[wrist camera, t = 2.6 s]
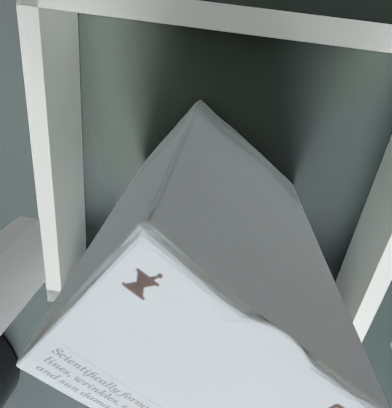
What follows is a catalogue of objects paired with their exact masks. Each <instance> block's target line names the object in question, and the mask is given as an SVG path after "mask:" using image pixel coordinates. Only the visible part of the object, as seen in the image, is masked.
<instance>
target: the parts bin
mask: <svg viewBox="0 0 392 408" xmlns="http://www.w3.org/2000/svg"><path fill="white" fill-rule="evenodd" d="M16 8H17V18H18V27H19V36H20V46H21V55H22V65H23V74H24V83H25V93H26V102H27V111H28V121H29V130H30V140H31V149H32V158H33V168H34V177H35V186H36V196H37V205H38V215H39V221H40V230H41V239H42V248H43V257H44V266H45V275H46V290H47V299H48V301H51V302H54V301H55V299H56V297H57V296H58V294H59V293H60V291H61V289H62V288H63V286H64V285H65V283H66V281H67V280H68V278H69V277H70V275H71V274H72V272H73V270H74V269H75V267H76V266H77V264H78V263H79V261H80V260H81V258H82V257H83V255H84V253H85V252H86V227H85V199H84V172H83V144H82V116H81V89H80V61H79V33H78V13H84V14H92V15H100V16H107V17H115V18H123V19H130V20H138V21H146V22H154V23H161V24H169V25H177V26H185V27H192V28H200V29H208V30H216V31H223V32H231V33H239V34H246V35H254V36H262V37H270V38H277V39H285V40H293V41H301V42H308V43H316V44H324V45H332V46H339V47H347V48H355V49H362V50H370V51H378V52H386V53H392V24H384V23H376V22H368V21H360V20H352V19H344V18H336V17H328V16H320V15H312V14H304V13H296V12H288V11H280V10H272V9H264V8H256V7H248V6H240V5H232V4H224V3H216V2H208V1H200V0H16ZM391 280H392V135H391V137H390V140H389V143H388V145H387V148H386V150H385V153H384V156H383V158H382V161H381V164H380V166H379V169H378V171H377V174H376V177H375V179H374V182H373V185H372V187H371V190H370V192H369V195H368V198H367V200H366V203H365V206H364V208H363V211H362V213H361V216H360V219H359V221H358V224H357V227H356V229H355V232H354V234H353V237H352V240H351V242H350V245H349V248H348V250H347V253H346V255H345V258H344V261H343V263H342V266H341V269H340V271H339V274H338V276H337V279H336V282H335V283H336V286H337V288H338V290H339V293H340V295H341V297H342V300H343V302H344V304H345V306H346V309H347V311H348V313H349V316H350V318H351V320H352V322H353V325H354V327H355V329H356V331H357V334H358V336H359V338H360V340H361V343H362V341H363V339H364V337H365V335H366V333H367V331H368V328H369V326H370V324H371V322H372V320H373V318H374V316H375V314H376V312H377V309H378V307H379V305H380V303H381V301H382V299H383V297H384V295H385V293H386V290H387V288H388V286H389V284H390V282H391Z"/></svg>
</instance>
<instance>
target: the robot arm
mask: <svg viewBox="0 0 392 408" xmlns="http://www.w3.org/2000/svg"><path fill="white" fill-rule="evenodd" d="M45 281H46V275H45V266H44V257H43V248H42V239H41V230H40V221H39V220H38V219H32V218H27V217H21V216H18V217H17V218H16V219H15V220H13V221H12V222H11V223H10V224H8V225H7V226H6V227H5V228H3V229H2V230H1V231H0V408H2V407H3V406H4V404H5V403H6V401H7V400H8V398H9V397H10V395H11V393H12V392H13V390H14V389H15V387H16V385H17V383H18V379H19V368H18V367H17V366H16V363H17V360H16V357H15V355H14V353H13V351H12V349H11V348H10V346H9V345H8V343H7V342H6V340H5V339H4V338H3V337H2V336H1V335H2V334H3V332H4V331H5V330H6V329H7V327H8V326H9V325H10V324H11V323H12V321H13V320H14V319H15V318H16V316H17V315H18V314H19V313H20V312H21V310H22V309H23V308H24V307H25V306H26V304H27V303H28V302H29V301H30V299H31V298H32V297H33V296H34V295H35V293H36V292H37V291H38V290H39V288H40V287H41V286H42V285H43V284H44V282H45ZM390 346H391V349H392V342H391V344H390Z"/></svg>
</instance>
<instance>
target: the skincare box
mask: <svg viewBox="0 0 392 408" xmlns="http://www.w3.org/2000/svg"><path fill="white" fill-rule="evenodd" d="M16 366H17V367H18V368H20V369H22V370H24V371H25V372H27V373H29V374H31V375H33V376H34V377H36V378H38V379H39V380H41V381H43V382H45V383H46V384H48V385H50V386H52V387H54V388H55V389H57V390H59V391H61V392H63V393H64V394H66V395H68V396H70V397H72V398H74V399H75V400H77V401H79V402H81V403H83V404H84V405H86V406H88V407H90V408H389V405H388V403H387V401H386V398H385V396H384V394H383V392H382V389H381V387H380V385H379V382H378V380H377V378H376V376H375V373H374V371H373V369H372V366H371V364H370V361H369V359H368V357H367V354H366V352H365V350H364V347H363V345H362V343H361V340H360V338H359V336H358V334H357V331H356V329H355V327H354V325H353V322H352V320H351V318H350V316H349V313H348V311H347V309H346V306H345V304H344V302H343V300H342V297H341V295H340V293H339V290H338V288H337V286H336V283H335V281H334V279H333V277H332V274H331V272H330V270H329V267H328V265H327V263H326V261H325V258H324V256H323V254H322V251H321V249H320V247H319V244H318V242H317V240H316V237H315V235H314V233H313V230H312V228H311V226H310V224H309V221H308V219H307V217H306V214H305V212H304V210H303V207H302V205H301V203H300V200H299V198H298V196H297V193H296V191H295V189H294V186H293V184H292V183H291V182H290V181H289V180H288V179H287V178H286V177H285V176H284V175H283V174H282V173H281V172H280V171H279V170H278V169H277V168H275V167H274V166H273V165H272V164H271V163H270V162H269V161H268V160H267V159H266V158H265V157H264V156H263V155H262V154H261V153H260V152H259V151H257V150H256V149H255V148H254V147H253V146H252V145H251V144H250V143H249V142H248V141H246V140H245V139H244V138H243V137H242V136H241V135H240V134H239V133H238V132H237V131H236V130H235V129H233V128H232V127H231V126H230V125H229V124H227V123H226V122H225V121H224V120H222V119H221V118H220V117H219V116H218V115H217V114H215V113H214V112H213V111H212V110H211V109H210V108H209V107H208V106H207V105H206V104H205V103H204V102H203V101H202V100H198V101H197V102H196V103H195V104H194V105H193V106H192V107H191V109H190V110H189V111H188V112H187V113H186V114H185V115H184V117H183V118H182V119H181V120H180V121H179V122H178V123H177V125H176V126H175V127H174V128H173V129H172V130H171V131H170V133H169V134H168V135H167V136H166V137H165V138H164V139H163V141H162V142H161V143H160V144H159V145H158V146H157V148H156V149H155V150H154V151H153V152H152V153H151V155H150V156H149V157H148V158H147V159H146V160H145V161H144V163H143V164H142V165H141V166H140V168H139V169H138V171H137V172H136V174H135V175H134V177H133V178H132V180H131V181H130V183H129V185H128V186H127V188H126V189H125V191H124V192H123V194H122V196H121V197H120V199H119V200H118V202H117V204H116V205H115V207H114V208H113V210H112V212H111V213H110V215H109V216H108V218H107V219H106V221H105V223H104V224H103V226H102V227H101V229H100V230H99V232H98V233H97V235H96V236H95V238H94V239H93V241H92V243H91V244H90V246H89V247H88V249H87V250H86V252H85V253H84V255H83V257H82V258H81V260H80V261H79V263H78V264H77V266H76V267H75V269H74V270H73V272H72V274H71V275H70V277H69V278H68V280H67V281H66V283H65V285H64V286H63V288H62V289H61V291H60V293H59V294H58V296H57V297H56V299H55V301H54V302H53V304H52V305H51V307H50V308H49V310H48V312H47V313H46V315H45V316H44V318H43V320H42V321H41V323H40V325H39V326H38V328H37V329H36V331H35V333H34V334H33V336H32V338H31V339H30V341H29V343H28V344H27V346H26V348H25V349H24V351H23V353H22V354H21V356H20V357H19V359H18V361H17V363H16Z"/></svg>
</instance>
